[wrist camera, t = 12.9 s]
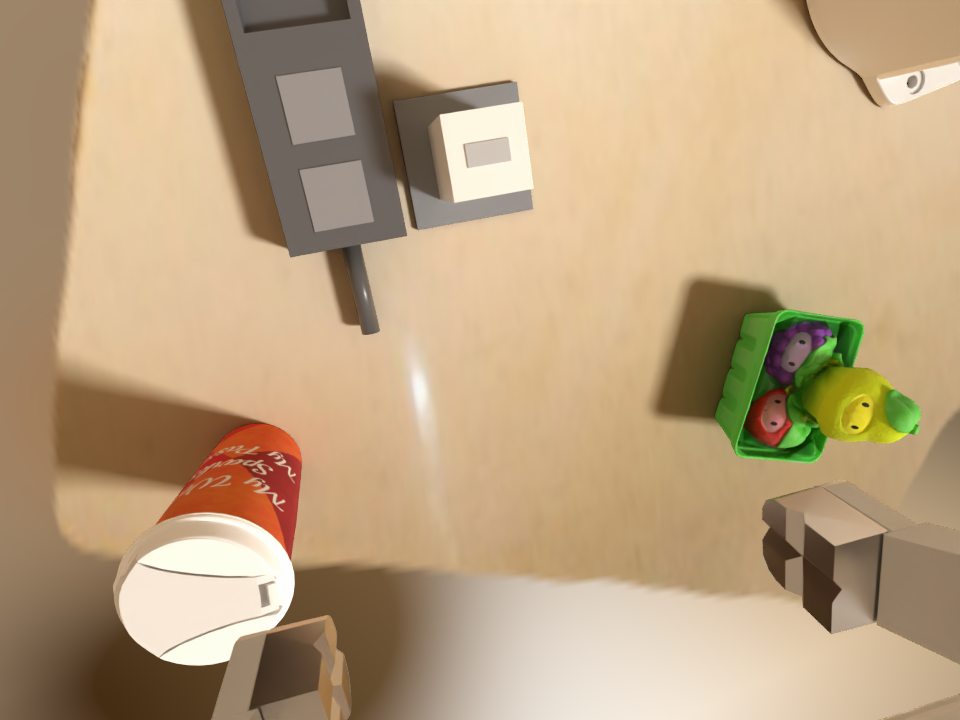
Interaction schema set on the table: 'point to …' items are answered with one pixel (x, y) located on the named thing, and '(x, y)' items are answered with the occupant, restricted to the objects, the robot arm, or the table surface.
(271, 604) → the coffee cup
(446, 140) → the block
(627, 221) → the table surface
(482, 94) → the mat
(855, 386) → the fruit basket
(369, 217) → the power strip
